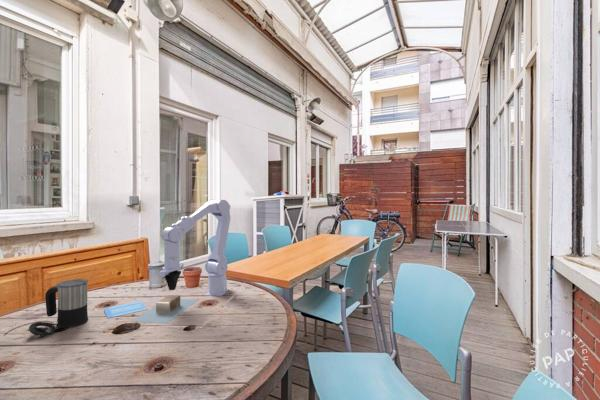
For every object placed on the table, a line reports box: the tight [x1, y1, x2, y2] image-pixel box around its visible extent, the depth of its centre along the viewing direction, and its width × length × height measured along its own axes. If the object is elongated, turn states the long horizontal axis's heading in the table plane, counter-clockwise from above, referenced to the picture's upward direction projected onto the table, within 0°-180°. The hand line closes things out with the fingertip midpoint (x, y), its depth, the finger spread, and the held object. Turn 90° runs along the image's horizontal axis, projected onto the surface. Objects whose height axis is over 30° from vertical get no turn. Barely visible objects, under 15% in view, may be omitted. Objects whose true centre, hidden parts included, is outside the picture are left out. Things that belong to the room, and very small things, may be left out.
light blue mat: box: [131, 298, 199, 324], centre depth 119 cm, size 24×14×1 cm, turn 173°
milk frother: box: [28, 278, 89, 337], centre depth 104 cm, size 14×16×15 cm
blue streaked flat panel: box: [103, 300, 149, 319], centre depth 119 cm, size 14×12×1 cm
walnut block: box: [155, 294, 181, 314], centre depth 119 cm, size 4×5×9 cm
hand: (172, 289), depth 122 cm, fingers closed
